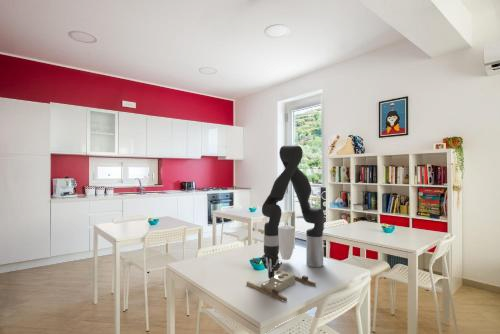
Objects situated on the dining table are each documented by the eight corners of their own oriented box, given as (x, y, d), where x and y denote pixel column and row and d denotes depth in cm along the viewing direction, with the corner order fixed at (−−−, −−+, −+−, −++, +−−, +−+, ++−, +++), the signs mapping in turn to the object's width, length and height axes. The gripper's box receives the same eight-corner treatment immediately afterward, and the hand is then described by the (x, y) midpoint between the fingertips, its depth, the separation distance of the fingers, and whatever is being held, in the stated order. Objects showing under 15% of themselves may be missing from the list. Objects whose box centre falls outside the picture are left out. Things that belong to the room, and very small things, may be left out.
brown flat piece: (278, 272, 152) (278, 266, 152) (316, 285, 135) (316, 279, 135) (246, 285, 136) (246, 278, 136) (284, 302, 118) (284, 295, 118)
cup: (296, 266, 161) (296, 229, 161) (278, 266, 161) (277, 228, 161) (293, 260, 171) (293, 225, 171) (276, 260, 172) (276, 225, 172)
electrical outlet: (261, 281, 131) (283, 271, 144) (261, 290, 131) (283, 278, 144) (273, 286, 126) (295, 274, 139) (273, 295, 126) (295, 282, 139)
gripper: (286, 244, 137) (286, 280, 137) (266, 239, 147) (266, 272, 147) (276, 247, 132) (276, 284, 132) (256, 242, 142) (256, 276, 142)
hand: (271, 278), depth 140 cm, fingers closed
